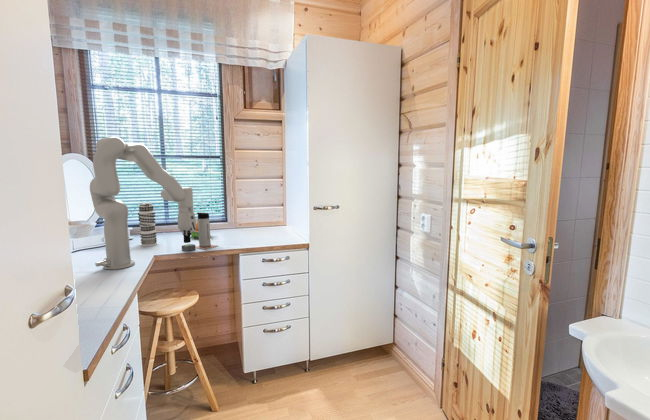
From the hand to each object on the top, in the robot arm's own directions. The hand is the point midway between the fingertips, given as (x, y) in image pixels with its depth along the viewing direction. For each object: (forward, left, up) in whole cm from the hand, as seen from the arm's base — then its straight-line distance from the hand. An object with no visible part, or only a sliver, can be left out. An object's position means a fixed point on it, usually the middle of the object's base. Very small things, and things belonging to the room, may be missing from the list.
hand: (187, 242), depth 185 cm
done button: (+1, 0, -3) cm, 4 cm away
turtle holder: (+28, +23, -5) cm, 36 cm away
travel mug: (+10, -2, -5) cm, 12 cm away
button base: (+1, 0, -5) cm, 5 cm away
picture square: (+11, -2, -5) cm, 12 cm away
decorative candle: (-1, +33, -5) cm, 33 cm away
